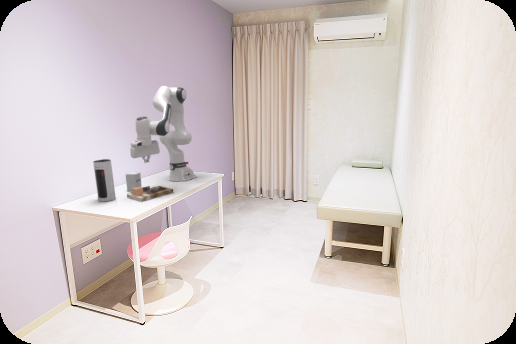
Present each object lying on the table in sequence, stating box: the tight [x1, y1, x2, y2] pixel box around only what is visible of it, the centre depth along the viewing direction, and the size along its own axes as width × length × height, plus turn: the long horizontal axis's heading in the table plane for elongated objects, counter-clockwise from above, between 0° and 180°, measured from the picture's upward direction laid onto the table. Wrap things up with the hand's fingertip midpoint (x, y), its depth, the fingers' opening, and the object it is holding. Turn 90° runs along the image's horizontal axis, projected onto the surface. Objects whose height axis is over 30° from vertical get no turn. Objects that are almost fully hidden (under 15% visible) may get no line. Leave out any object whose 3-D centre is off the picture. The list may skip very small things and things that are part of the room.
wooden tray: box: [126, 185, 174, 203], centre depth 218 cm, size 25×16×5 cm, turn 142°
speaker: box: [92, 158, 116, 203], centre depth 207 cm, size 11×10×26 cm
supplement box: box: [125, 171, 143, 193], centre depth 230 cm, size 7×7×13 cm
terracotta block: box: [131, 186, 143, 196], centre depth 210 cm, size 5×5×4 cm
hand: (146, 162), depth 217 cm, fingers closed
